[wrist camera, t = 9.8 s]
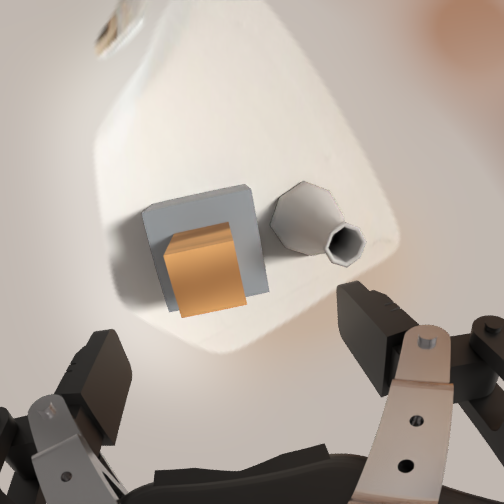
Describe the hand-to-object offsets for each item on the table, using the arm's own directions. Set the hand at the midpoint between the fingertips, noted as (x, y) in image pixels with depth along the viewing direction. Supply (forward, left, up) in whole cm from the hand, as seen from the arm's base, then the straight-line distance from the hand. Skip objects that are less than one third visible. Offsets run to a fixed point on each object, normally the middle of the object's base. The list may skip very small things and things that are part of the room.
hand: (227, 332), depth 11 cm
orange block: (+2, -1, -16) cm, 16 cm away
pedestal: (+2, -1, -21) cm, 21 cm away
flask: (+2, +9, -21) cm, 23 cm away
